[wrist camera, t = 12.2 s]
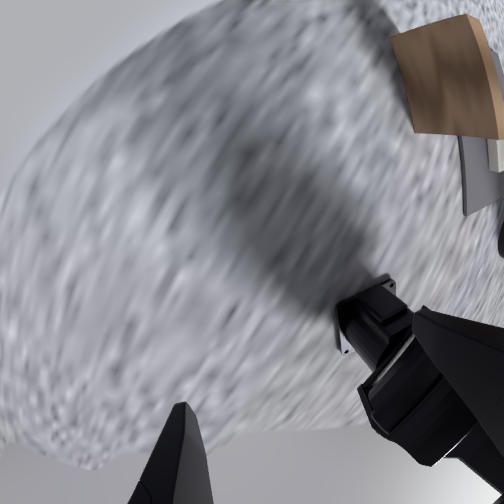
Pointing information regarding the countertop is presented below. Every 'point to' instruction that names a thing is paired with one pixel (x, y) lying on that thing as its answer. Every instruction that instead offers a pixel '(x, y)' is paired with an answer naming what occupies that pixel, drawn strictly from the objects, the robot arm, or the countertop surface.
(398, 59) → the flat wooden plank
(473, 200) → the mat
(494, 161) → the tile
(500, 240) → the travel mug
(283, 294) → the countertop surface
